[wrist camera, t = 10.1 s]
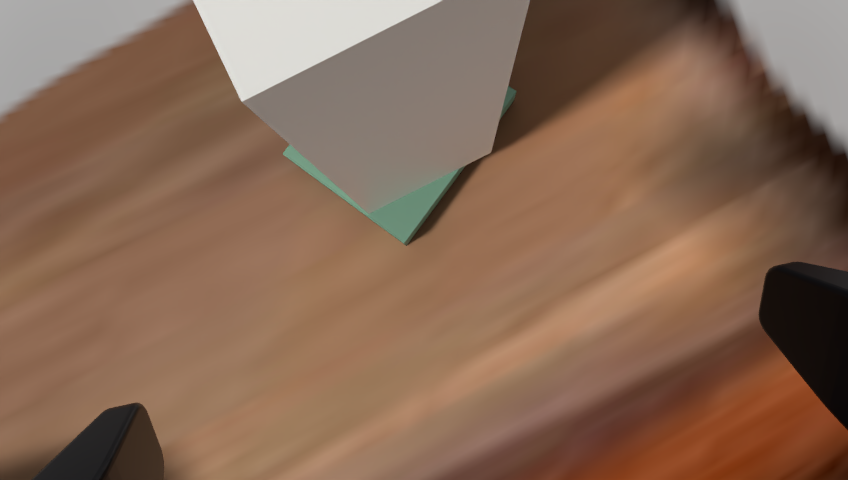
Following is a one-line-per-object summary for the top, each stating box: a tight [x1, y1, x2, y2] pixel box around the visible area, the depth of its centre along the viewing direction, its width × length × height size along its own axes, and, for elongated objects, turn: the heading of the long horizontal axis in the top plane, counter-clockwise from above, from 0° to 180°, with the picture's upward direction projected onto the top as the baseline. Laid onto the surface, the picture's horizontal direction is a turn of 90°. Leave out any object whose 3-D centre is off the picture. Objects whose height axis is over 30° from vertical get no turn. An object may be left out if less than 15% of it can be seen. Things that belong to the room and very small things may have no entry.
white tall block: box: [193, 0, 530, 214], centre depth 14 cm, size 5×5×12 cm
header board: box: [283, 86, 517, 246], centre depth 20 cm, size 5×6×3 cm
